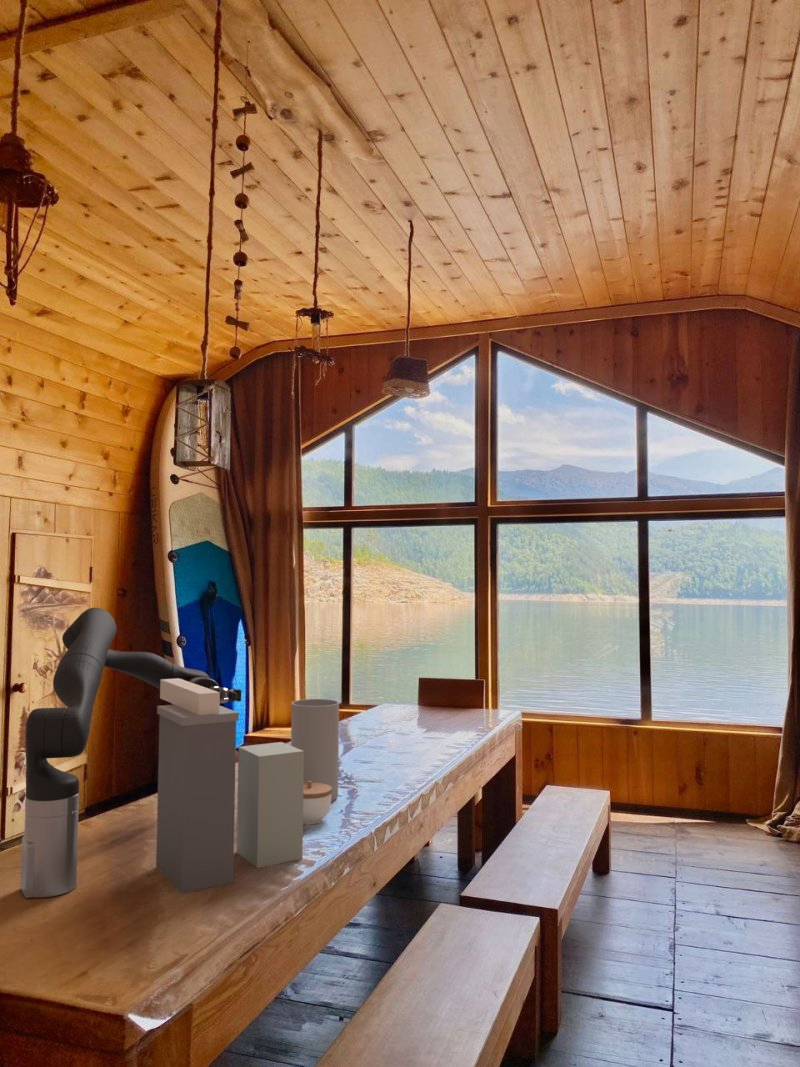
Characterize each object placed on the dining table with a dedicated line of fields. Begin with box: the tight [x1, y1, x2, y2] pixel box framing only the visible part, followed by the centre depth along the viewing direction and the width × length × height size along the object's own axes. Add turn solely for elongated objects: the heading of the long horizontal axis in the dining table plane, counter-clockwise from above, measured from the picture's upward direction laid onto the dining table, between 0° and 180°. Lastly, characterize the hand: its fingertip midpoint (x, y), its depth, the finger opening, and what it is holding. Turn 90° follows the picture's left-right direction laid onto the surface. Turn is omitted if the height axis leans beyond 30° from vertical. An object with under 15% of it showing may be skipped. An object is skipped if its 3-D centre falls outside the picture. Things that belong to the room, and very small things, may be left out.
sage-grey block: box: [236, 741, 304, 868], centre depth 171 cm, size 10×11×22 cm
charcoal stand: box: [155, 704, 240, 894], centre depth 160 cm, size 11×16×32 cm
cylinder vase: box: [290, 698, 340, 802], centre depth 215 cm, size 12×12×25 cm
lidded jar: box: [303, 781, 332, 825], centre depth 195 cm, size 11×11×9 cm
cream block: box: [159, 678, 221, 715], centre depth 165 cm, size 4×25×4 cm, turn 33°
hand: (213, 697), depth 180 cm, fingers open, 8 cm apart
